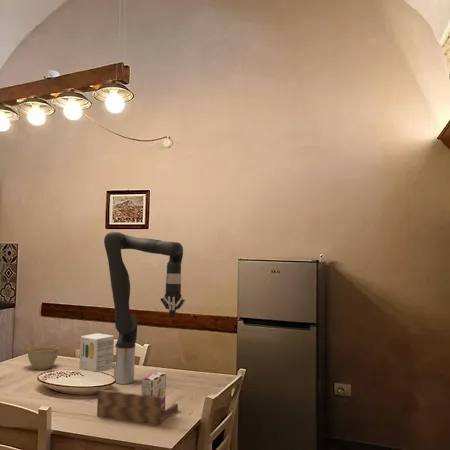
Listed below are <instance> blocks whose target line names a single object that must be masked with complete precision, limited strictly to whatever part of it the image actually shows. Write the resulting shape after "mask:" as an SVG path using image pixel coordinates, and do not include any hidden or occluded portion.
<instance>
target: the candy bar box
mask: <svg viewBox="0 0 450 450" xmlns="http://www.w3.org/2000/svg"><path fill="white" fill-rule="evenodd" d="M166 375H167V373H166V372H162V371H155V372H153V373H151V374H149V375H147V376H145V377H143V378H141V395H147V396H154V397H161V414H162V413H163V412H164V411H166V387H167V386H166V383H167V382H166V380H167V378H166V377H167V376H166Z"/></svg>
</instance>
